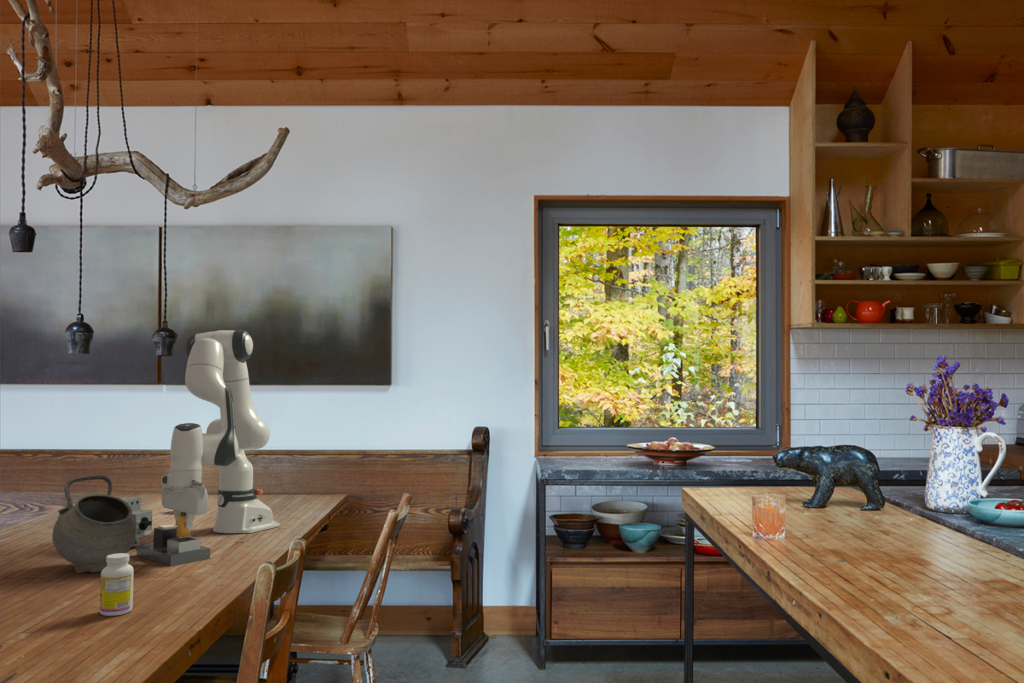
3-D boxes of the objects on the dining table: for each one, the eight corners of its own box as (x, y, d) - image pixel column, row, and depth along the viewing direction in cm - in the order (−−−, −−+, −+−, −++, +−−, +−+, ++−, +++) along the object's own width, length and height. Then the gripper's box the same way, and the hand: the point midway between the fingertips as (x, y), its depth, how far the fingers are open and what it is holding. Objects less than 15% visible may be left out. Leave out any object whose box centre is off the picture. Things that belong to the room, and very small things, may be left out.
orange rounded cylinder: (185, 534, 225) (186, 510, 225) (192, 535, 222) (193, 511, 223) (174, 535, 222) (175, 511, 222) (180, 537, 220) (181, 513, 220)
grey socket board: (175, 548, 237) (176, 522, 237) (209, 558, 224) (210, 531, 225) (136, 555, 227) (137, 528, 228) (170, 566, 215) (171, 537, 215)
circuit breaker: (139, 551, 232) (141, 502, 233) (99, 549, 235) (100, 500, 235) (155, 546, 239) (157, 498, 240) (116, 543, 242) (118, 496, 243)
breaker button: (169, 540, 231) (169, 524, 231) (175, 542, 229) (176, 525, 229) (157, 542, 228) (158, 526, 228) (163, 544, 226) (164, 527, 226)
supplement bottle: (107, 608, 176) (109, 552, 177) (137, 607, 177) (139, 551, 177) (94, 617, 169) (96, 558, 170) (125, 616, 170) (127, 558, 170)
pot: (57, 562, 217) (60, 474, 219) (137, 556, 225) (140, 471, 227) (44, 580, 198) (48, 484, 200) (132, 573, 207) (136, 480, 208)
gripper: (214, 481, 219) (213, 530, 218) (178, 475, 232) (176, 521, 231) (194, 483, 214) (192, 533, 213) (158, 477, 227) (156, 523, 226)
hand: (183, 526), depth 222 cm, fingers closed on orange rounded cylinder, 4 cm apart
